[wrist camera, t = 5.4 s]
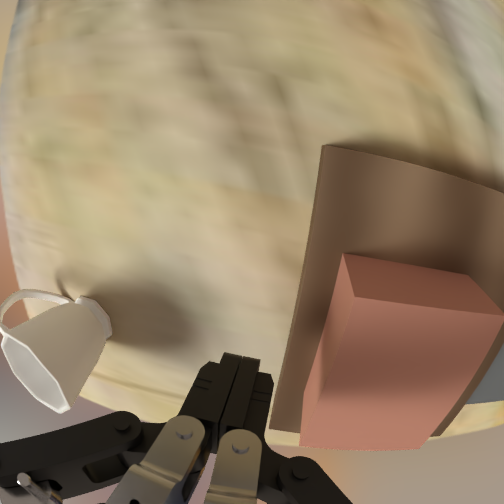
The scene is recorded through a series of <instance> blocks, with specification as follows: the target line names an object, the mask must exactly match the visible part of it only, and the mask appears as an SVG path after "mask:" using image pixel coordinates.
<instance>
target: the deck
mask: <svg viewBox="0 0 504 504" xmlns="http://www.w3.org/2000/svg"><path fill="white" fill-rule="evenodd" d="M343 253H345V254H351V255H357V256H363V257H369V258H375V259H381V260H386V261H392V262H398V263H403V264H409V265H415V266H420V267H426V268H431V269H437V270H442V271H448V272H453V273H459V274H464V275H468V276H469V277H470V278H471V279H472V280H473V281H474V282H475V283H476V284H477V285H478V286H479V287H480V288H481V289H482V290H483V291H484V292H485V293H486V294H487V295H488V296H489V297H490V298H491V300H492V301H493V302H494V303H495V304H496V305H497V306H498V307H499V308H500V309H501V311H502V312H503V313H504V193H502V192H499V191H496V190H494V189H491V188H488V187H486V186H483V185H480V184H477V183H474V182H471V181H469V180H466V179H463V178H459V177H456V176H453V175H450V174H447V173H444V172H440V171H437V170H433V169H430V168H426V167H423V166H419V165H416V164H412V163H408V162H404V161H400V160H396V159H392V158H388V157H383V156H379V155H374V154H370V153H365V152H360V151H355V150H350V149H345V148H340V147H334V146H329V145H322V149H321V157H320V164H319V171H318V178H317V185H316V192H315V199H314V205H313V211H312V217H311V224H310V230H309V235H308V241H307V247H306V253H305V258H304V264H303V269H302V274H301V280H300V285H299V290H298V295H297V300H296V305H295V310H294V315H293V319H292V324H291V329H290V333H289V338H288V343H287V347H286V352H285V356H284V360H283V365H282V369H281V373H280V377H279V381H278V386H277V390H276V394H275V398H274V403H273V408H272V414H271V419H270V424H269V429H274V430H280V431H287V432H295V433H300V431H301V421H302V409H303V397H304V391H305V388H306V385H307V382H308V378H309V375H310V372H311V369H312V366H313V363H314V360H315V356H316V353H317V350H318V346H319V343H320V340H321V336H322V333H323V329H324V326H325V322H326V318H327V315H328V311H329V307H330V303H331V300H332V296H333V292H334V288H335V284H336V280H337V275H338V271H339V267H340V263H341V258H342V254H343ZM503 343H504V322H503V324H502V326H501V328H500V330H499V332H498V334H497V336H496V338H495V340H494V342H493V344H492V346H491V348H490V349H489V351H488V353H487V355H486V357H485V358H484V360H483V362H482V363H481V365H480V367H479V368H478V370H477V372H476V373H475V375H474V377H473V378H472V380H471V381H470V383H469V384H468V386H467V387H466V389H465V390H464V392H463V393H462V395H461V396H460V398H459V399H458V401H457V402H456V403H455V405H454V406H453V407H452V409H451V410H450V412H449V413H448V414H447V415H446V417H445V418H444V419H443V421H442V422H441V423H440V424H439V426H438V427H437V428H436V429H435V431H434V432H433V433H432V434H431V435H430V437H433V436H440V435H441V434H442V433H443V432H444V431H445V429H446V428H447V427H448V426H449V425H450V423H451V422H452V421H453V420H454V418H455V417H456V416H457V414H458V413H459V412H460V410H461V409H462V408H463V406H464V405H465V404H466V402H467V401H468V400H469V398H470V397H471V395H472V394H473V392H474V391H475V389H476V388H477V387H478V385H479V384H480V382H481V380H482V379H483V377H484V376H485V374H486V373H487V371H488V369H489V368H490V366H491V364H492V363H493V361H494V359H495V358H496V356H497V354H498V352H499V351H500V349H501V347H502V345H503Z"/></svg>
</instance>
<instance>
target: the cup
mask: <svg viewBox="0 0 504 504" xmlns="http://www.w3.org/2000/svg"><path fill="white" fill-rule="evenodd" d="M23 298H36V299H42V300H47V301H52V302H56V303H59V304H62V305H59V306H56V307H54V308H51V309H49V310H47V311H45V312H43V313H41V314H39V315H38V316H36V317H34V318H32V319H30V320H28V321H26V322H24V323H22V324H20V325H18V326H16V327H14V328H12V329H9V328H7V327H6V326H5V325H3V324H2V319H3V314H4V313H5V312H6V310H7V309H8V308H9V307H10V306H11V305H12V304H13V303H14V302H15V301H17V300H20V299H23ZM0 332H1V333H2V335H3V336H4V337H3V340H2V343H1V347H2V350H3V352H4V354H5V356H6V359H7V361H8V363H9V365H10V367H11V369H12V371H13V373H14V374H15V375H16V377H17V378H18V379H19V380H20V382H21V383H22V384H23V385H24V386H25V387H26V389H27V390H28V391H29V392H30V393H31V394H32V395H33V396H34V397H35V399H37V400H38V401H40V402H41V403H43V404H44V405H46V406H48V407H49V408H51V409H52V410H54V411H56V412H57V413H59V414H61V413H63V412H65V411H67V410H69V409H71V407H72V406H73V404H74V402H75V400H76V398H77V397H78V395H79V393H80V391H81V389H82V387H83V386H84V384H85V382H86V380H87V379H88V377H89V375H90V374H91V372H92V370H93V369H94V367H95V365H96V364H97V362H98V360H99V357H100V355H101V353H102V350H103V348H104V346H105V344H106V339H107V338H109V337H110V336H111V335H112V334H113V332H112V327H111V322H110V317H109V316H108V314H107V313H106V312H105V311H104V310H103V309H102V307H101V306H100V305H99V304H98V303H97V301H96V300H93V299H89V298H86V297H83V296H80V297H78V298H77V300H76V301H75V302H74V301H72V300H71V299H69V298H67V297H64V296H62V295H59V294H55V293H51V292H46V291H41V290H36V289H23V290H20V291H17V292H14V293H13V294H12V295H10V296H9V297H8V298H7V299H6V300H5V301H4V302H3V304H2V305H1V306H0Z"/></svg>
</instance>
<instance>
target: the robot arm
mask: <svg viewBox="0 0 504 504" xmlns="http://www.w3.org/2000/svg"><path fill="white" fill-rule="evenodd" d="M259 366H260V359H255V358H250V357H245V356H243V357H242V356H240V355H235V354H230V353H226V352H224V354H223V356H222V359H221V361H220V363H215V362H211V361H209V362H208V363H207V364H205V365H204V366H203V367H202V368H201V369H200V371H199V373H198V375H197V377H196V379H195V381H194V383H193V386H192V387H191V389H190V391H189V393H188V395H187V397H186V399H185V401H184V404H183V406H182V408H181V410H180V412H179V413H178V415H177V416H176V417H173V418H171V419H170V420H169V421H168V422H165V423H145V422H140V420H139V418H138V417H137V416H136V415H134V414H133V413H130V412H127V411H117V412H114V413H111V414H108V415H105V416H102V417H99V418H96V419H93V420H90V421H87V422H83V423H80V424H77V425H74V426H70V427H66V428H63V429H59V430H56V431H52V432H48V433H45V434H40V435H37V436H32V437H28V438H24V439H19V440H15V441H10V442H5V443H0V500H1V503H2V504H63V499H67V498H71V497H75V496H78V495H82V494H85V493H88V492H92V491H95V490H98V489H101V488H104V487H107V486H110V485H113V484H116V483H119V484H118V485H117V487H116V488H115V490H114V491H113V493H112V494H111V496H110V497H109V499H108V500H107V502H106V503H99V504H188V503H189V501H190V499H191V497H192V494H193V492H194V490H195V488H196V486H197V484H198V482H199V480H200V478H201V476H202V474H203V471H204V469H205V465H206V463H207V460H208V457H209V455H210V453H214V454H217V457H216V461H215V465H214V469H213V474H212V478H211V482H210V487H209V489H208V491H207V494H206V497H205V500H204V504H257V498H258V499H260V500H262V501H264V502H266V503H267V504H353V503H352V502H351V501H350V500H349V499H348V498H347V497H346V496H345V495H344V494H343V492H342V491H341V490H340V489H339V488H338V487H337V486H336V485H335V483H334V482H333V481H332V480H331V479H330V478H329V476H328V475H327V474H326V473H325V472H324V471H323V469H322V468H321V467H320V466H319V465H318V464H317V463H316V462H315V461H314V460H312V459H310V458H307V457H303V456H296V457H292V458H287V457H284V456H282V455H280V454H278V453H276V452H274V451H273V450H271V449H270V448H269V446H268V445H267V443H266V442H265V438H264V433H265V428H266V423H267V418H268V413H269V408H270V402H271V397H272V392H273V387H274V382H273V380H272V377H271V374H267V373H262V372H258V371H259Z"/></svg>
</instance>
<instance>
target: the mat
mask: <svg viewBox="0 0 504 504" xmlns="http://www.w3.org/2000/svg"><path fill="white" fill-rule="evenodd" d="M502 400H504V343H503V345H502V347H501V349H500V351H499V352H498V354H497V356H496V358H495V359H494V361H493V363H492V364H491V366H490V368H489V369H488V371H487V373H486V374H485V376H484V377H483V379H482V380H481V382H480V384H479V385H478V387H477V388H476V389H475V391H474V392H473V394H472V395H471V397H470V398H469V400H468V401H467V402H466V404H475V403H485V402H494V401H502Z"/></svg>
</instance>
